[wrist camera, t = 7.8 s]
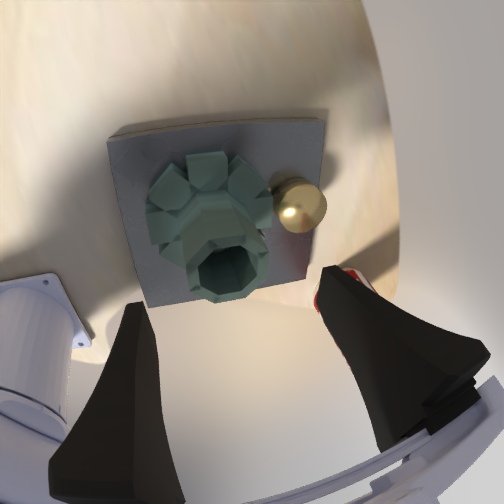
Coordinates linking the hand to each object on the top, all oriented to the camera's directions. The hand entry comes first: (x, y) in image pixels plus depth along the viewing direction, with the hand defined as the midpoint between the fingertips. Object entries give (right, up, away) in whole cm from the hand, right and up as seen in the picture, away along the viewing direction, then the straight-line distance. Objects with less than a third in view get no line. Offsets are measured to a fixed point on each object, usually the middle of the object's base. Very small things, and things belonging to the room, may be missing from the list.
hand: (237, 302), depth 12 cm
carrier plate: (-1, +4, +7) cm, 9 cm away
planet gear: (-2, +4, +6) cm, 7 cm away
